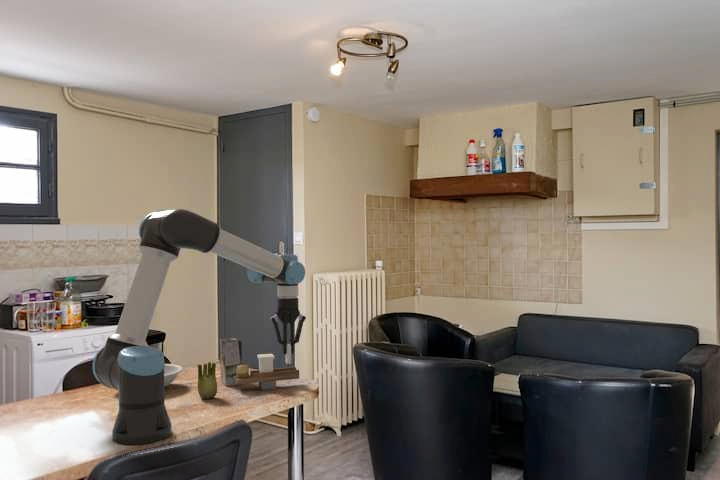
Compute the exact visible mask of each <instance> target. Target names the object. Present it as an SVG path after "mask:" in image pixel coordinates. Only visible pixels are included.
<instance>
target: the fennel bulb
mask: <svg viewBox="0 0 720 480" xmlns="http://www.w3.org/2000/svg"><path fill="white" fill-rule="evenodd" d="M216 367H217V362H211V361H208V362H205V363H203V364H202V363H199V364H197V378H198V379H197V392H198V395H199V397H200V398H201V399H204V400H211V399H214V398H215V397H216V396H217V394H218V381H217V376H216Z"/></svg>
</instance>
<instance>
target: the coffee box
mask: <svg viewBox="0 0 720 480" xmlns="http://www.w3.org/2000/svg"><path fill="white" fill-rule="evenodd" d="M242 341H243V340H241V339H240V338H238V337H225V338H220V339H219V343H220V345H219V347H220V352H219V353H220V382H221V383H222V384H223V385H224V386H226V387H229V386H237V385H239V386H241V384H236V382H235V376H237V366H239V365H243V349H242V348H243V346H242V343H243V342H242Z"/></svg>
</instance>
